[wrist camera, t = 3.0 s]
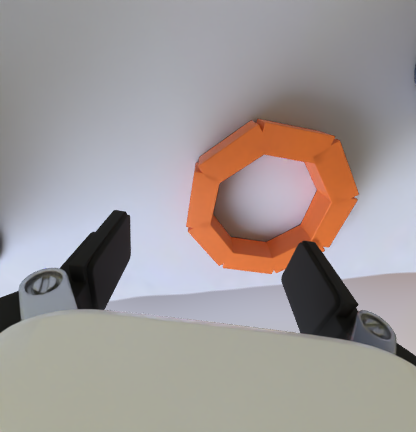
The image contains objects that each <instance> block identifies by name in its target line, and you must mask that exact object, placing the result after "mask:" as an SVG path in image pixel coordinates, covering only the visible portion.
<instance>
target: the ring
mask: <svg viewBox="0 0 416 432" xmlns="http://www.w3.org/2000/svg"><path fill="white" fill-rule="evenodd" d="M264 154H265V155H270V156H276V157H281V158H286V159H292V160H297V161H303V162H304V163H305V165H306V167H307V169H308V171H309V174H310V176H311V178H312V180H313V182H314V184H315V187H316V189H317V191H316V193H315V195H314V198H313V200H312V202H311V204H310V206H309V208H308V210H307V212H306V214H305V216H304V218H303V220H302V223H301V225H299V226H297V227H295V228H293V229H291V230H289V231H287V232H285V233H283V234H281V235H279V236H277V237H275V238H273V239H271V240H269V241H267V242H262V241H255V240H248V239H241V238H234V237H230V235H229V234H228V233H227V232H226V230H225V229H224V228H223V226H222V225H221V224H220V223H219V221H218V220H217V219H216V218H215V216H214V215H213V212H214V207H215V202H216V198H217V193H218V189H219V184H220V183H221V182H222V181H224V180H225V179H227V178H229V177H230V176H232V175H233V174H235V173H236V172H238V171H239V170H241V169H242V168H244V167H246V166H247V165H249V164H250V163H252V162H253V161H255V160H256V159H258V158H259V157H261V156H263V155H264ZM357 195H359V193H358V190H357V187H356V184H355V182H354V179H353V176H352V173H351V170H350V167H349V165H348V162H347V159H346V156H345V153H344V150H343V148H342V145H341V142H340V140H338V139H335V136H333V135H330V134H327V133H324V132H321V131H317V130H312V129H307V128H302V127H297V126H292V125H287V124H282V123H278V122H273V121H268V120H263V119H257V122H256V123H255V122H253V121H252V120H251V121H249V122H248V123H247V124H245V125H244V126H242V127H241V128H239V129H238V130H237V131H235V132H234V133H232V134H231V135H230V136H228V137H227V138H225V139H224V140H223V141H221V142H220V143H218V144H217V145H216V146H214V147H213V148H211V149H210V150H209V151H207V152H206V153H204V154H203V155H202V156H200V157H199V163H198V162H196V165H195V171H194V178H193V184H192V191H191V198H190V204H189V211H188V218H187V224H186V227H188V232H189V233H190V234H191V235H192V237H193V238H194V239H195V240H196V241H197V242H198V243H199V244H200V245H201V247H202V248H203V249H204V250H205V251H206V252H207V253H208V254H209V255H210V256H211V258H212V259H213V260H214V261H215V262H216V263H217V264H218V265H219V266H220V265H222V264H223V268H228V269H236V270H244V271H251V272H259V273H267V274H272V272H273V270H274V271H275V272H276V273H278V272H280V271H282V270H284V269H286V267H287V265H288V263H289V261H290V259H291V257H292V255H293V253H294V251H295V249H296V247H297V246H298V244H299V243H300V242H302V241H304V240H305V241H311V242H315V243H316V244H317V246H318V247H319V248H320V250H321V251H322V252H324V251H325V250H324V248H323V247H330V245H331V243H332V242H333V240H334V238H335V237H336V235H337V233H338V232H339V230H340V228H341V227H342V225H343V223H344V222H345V220H346V218H347V217H348V215H349V213H350V212H351V210H352V209H353V207H354V205H355V204H356V202H357V199H356V198H355V196H357Z"/></svg>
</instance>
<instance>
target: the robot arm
mask: <svg viewBox="0 0 416 432" xmlns="http://www.w3.org/2000/svg"><path fill="white" fill-rule="evenodd" d="M130 255H131V242H130V215H127V213H126V212H124V211H118V210H114V211H113V212H112V213H111V214H110V216H109V217H108V218H107V219H106V220H105V221H104V223H103V224H102V225H101V226H100V227H99V228H98V230H97V231H96V232H92V233H90V234H89V235H88V237H87V238H86V239H85V240H84V241H83V242H82V243H81V245H80V246H79V247H78V248H77V249H76V250H75V251H74V253H73V254H72V255H71V256H70V257H69V258H68V259H67V261H66V262H65V263H64V264H63V265H62V266H61V267H60V269H58V268H47V269H42V270H39V271H37V272H34V273H32V274H31V275H29V276H28V277H26V278H25V279H24V280H23V281H22V283H21V284H20V286H19V291H17V292H14V293H12V294H9V295H6V296H4V297H1V298H0V432H416V356H415V355H413V354H412V353H411V352H409V351H408V350H406V349H405V348H403V347H402V346H400V345H399V344H397V343H396V335H395V333H394V331H393V329H392V328H391V327H390V325H389V324H388V323H386V322H385V321H384V320H383V319H382V318H380V317H379V316H377V315H376V314H374V313H372V312H369V311H365V310H361V311H357V309H356V307H357V306H358V303H357V302H356V300H355V299H354V297H353V296H352V295H351V293H350V292H349V290H348V289H347V287H346V286H345V284H344V283H343V282H342V280H341V279H340V277H339V276H338V274H337V273H336V272H335V270H334V269H333V267H332V266H331V264H330V263H329V261H328V260H327V259H326V257H325V256H324V254H323V253H322V251H321V250H320V248H319V247H318V246H317V244H316V243H315V242H311V241H305V240H304V241H302V242H300V243H299V244H298V246H297V247H296V249H295V251H294V253H293V255H292V257H291V259H290V261H289V263H288V265H287V267H286V269H285V271H284V273H283V275H282V279H281V280H282V284H283V287H284V289H285V292H286V295H287V297H288V300H289V303H290V306H291V308H292V311H293V314H294V316H295V319H296V322H297V325H298V327H299V330H300V333H294V332H287V331H279V330H271V329H264V328H256V327H248V326H240V325H232V324H224V323H216V322H208V321H199V320H191V319H182V318H175V317H167V316H157V315H149V314H141V313H131V312H121V311H111V310H104V309H105V307H106V305H107V303H108V301H109V299H110V297H111V296H112V294H113V292H114V290H115V288H116V286H117V284H118V282H119V280H120V278H121V276H122V274H123V272H124V270H125V268H126V266H127V264H128V262H129V259H130Z"/></svg>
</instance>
